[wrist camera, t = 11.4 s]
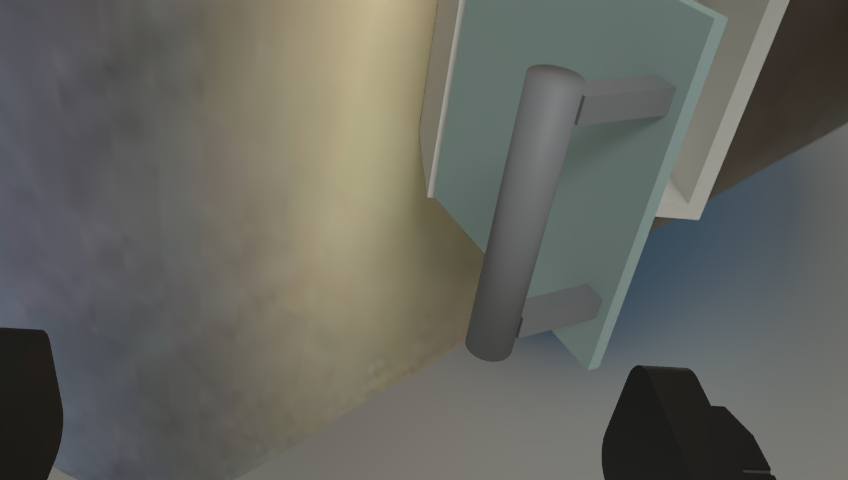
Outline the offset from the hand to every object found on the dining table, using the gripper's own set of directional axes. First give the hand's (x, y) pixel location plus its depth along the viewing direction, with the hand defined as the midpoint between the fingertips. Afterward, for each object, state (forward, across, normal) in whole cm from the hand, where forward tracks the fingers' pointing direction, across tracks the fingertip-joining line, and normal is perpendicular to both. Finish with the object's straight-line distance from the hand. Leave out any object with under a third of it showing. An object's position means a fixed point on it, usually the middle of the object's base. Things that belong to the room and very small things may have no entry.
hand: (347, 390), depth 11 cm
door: (+21, -9, +6) cm, 24 cm away
